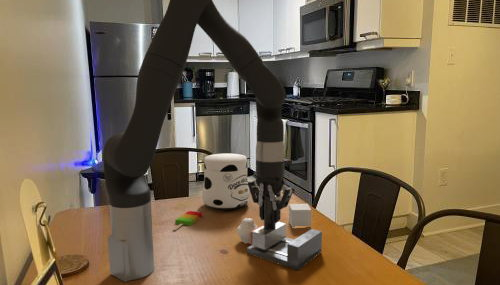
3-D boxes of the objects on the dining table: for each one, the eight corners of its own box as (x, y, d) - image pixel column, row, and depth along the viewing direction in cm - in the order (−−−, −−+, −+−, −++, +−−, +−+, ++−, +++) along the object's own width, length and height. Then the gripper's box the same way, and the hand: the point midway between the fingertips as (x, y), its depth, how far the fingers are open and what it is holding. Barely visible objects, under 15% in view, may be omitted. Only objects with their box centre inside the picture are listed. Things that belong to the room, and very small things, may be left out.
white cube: (307, 221, 124) (307, 203, 123) (310, 228, 118) (311, 209, 117) (288, 221, 124) (288, 203, 123) (291, 228, 118) (291, 210, 117)
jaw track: (297, 270, 91) (298, 247, 90) (247, 253, 101) (247, 231, 100) (321, 253, 101) (321, 231, 100) (273, 238, 110) (273, 218, 109)
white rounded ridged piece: (246, 235, 113) (246, 212, 111) (263, 240, 109) (263, 217, 108) (232, 242, 108) (232, 218, 107) (249, 248, 104) (249, 223, 103)
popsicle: (203, 217, 129) (203, 211, 129) (182, 234, 115) (181, 228, 115) (188, 215, 131) (188, 210, 130) (165, 232, 117) (165, 226, 116)
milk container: (249, 213, 131) (249, 162, 128) (199, 213, 131) (197, 162, 128) (250, 198, 148) (250, 152, 145) (205, 198, 148) (204, 152, 145)
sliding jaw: (264, 249, 98) (264, 201, 96) (250, 245, 101) (250, 197, 99) (285, 237, 106) (286, 192, 104) (272, 233, 109) (272, 189, 107)
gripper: (240, 156, 101) (240, 219, 104) (284, 163, 92) (284, 231, 95) (257, 152, 107) (257, 211, 110) (300, 158, 98) (299, 222, 101)
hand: (269, 220), depth 102 cm, fingers closed on sliding jaw, 3 cm apart
